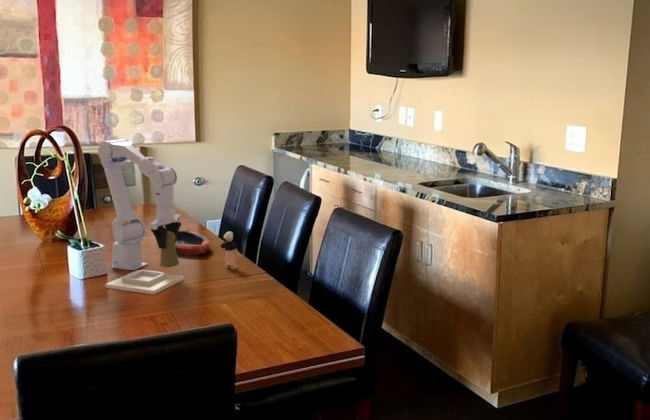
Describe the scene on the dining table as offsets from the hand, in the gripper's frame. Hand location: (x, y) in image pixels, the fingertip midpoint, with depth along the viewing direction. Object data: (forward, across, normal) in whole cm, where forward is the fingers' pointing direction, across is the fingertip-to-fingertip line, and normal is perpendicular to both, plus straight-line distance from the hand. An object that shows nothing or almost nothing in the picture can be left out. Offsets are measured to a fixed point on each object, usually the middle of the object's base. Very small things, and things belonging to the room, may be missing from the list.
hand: (167, 246), depth 222 cm
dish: (+11, +33, +14) cm, 38 cm away
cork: (+6, 0, 0) cm, 6 cm away
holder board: (+10, -9, +3) cm, 14 cm away
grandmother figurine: (+11, +17, -14) cm, 24 cm away
